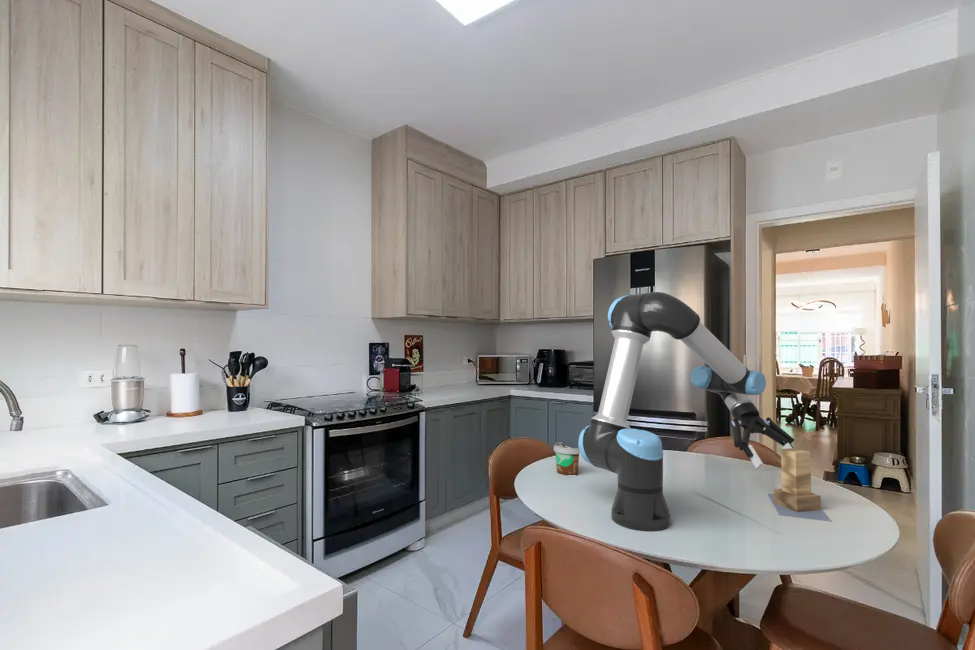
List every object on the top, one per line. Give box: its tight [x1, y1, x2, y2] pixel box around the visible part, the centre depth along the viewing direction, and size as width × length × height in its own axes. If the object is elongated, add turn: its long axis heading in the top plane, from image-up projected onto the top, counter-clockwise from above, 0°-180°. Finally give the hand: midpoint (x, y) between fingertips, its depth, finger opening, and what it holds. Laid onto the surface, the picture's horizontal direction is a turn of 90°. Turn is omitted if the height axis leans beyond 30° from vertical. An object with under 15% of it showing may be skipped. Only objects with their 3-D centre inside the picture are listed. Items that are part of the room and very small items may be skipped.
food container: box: [553, 441, 581, 476], centre depth 172 cm, size 12×6×10 cm, turn 25°
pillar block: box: [780, 447, 812, 496], centre depth 136 cm, size 5×5×12 cm
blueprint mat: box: [767, 493, 833, 523], centre depth 135 cm, size 20×12×1 cm, turn 157°
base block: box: [773, 487, 822, 512], centre depth 136 cm, size 8×8×4 cm
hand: (779, 465), depth 142 cm, fingers open, 13 cm apart
